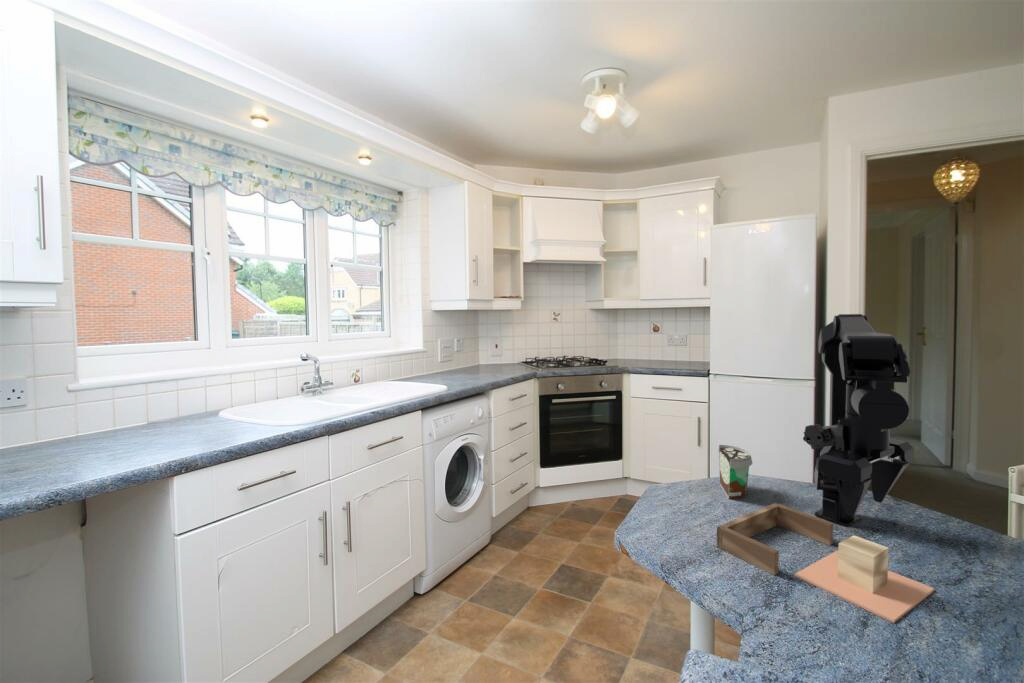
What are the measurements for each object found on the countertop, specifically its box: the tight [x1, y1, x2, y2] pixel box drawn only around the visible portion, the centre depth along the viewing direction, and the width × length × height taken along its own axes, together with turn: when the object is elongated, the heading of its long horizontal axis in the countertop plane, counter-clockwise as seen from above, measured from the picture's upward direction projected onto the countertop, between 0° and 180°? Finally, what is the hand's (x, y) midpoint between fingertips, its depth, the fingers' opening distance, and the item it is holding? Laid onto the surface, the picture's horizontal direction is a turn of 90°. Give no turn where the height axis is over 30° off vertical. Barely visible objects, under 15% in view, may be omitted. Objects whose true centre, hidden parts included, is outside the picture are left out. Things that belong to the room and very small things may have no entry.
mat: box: [794, 549, 935, 624], centre depth 78 cm, size 14×14×1 cm
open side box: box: [716, 502, 835, 576], centre depth 90 cm, size 19×11×4 cm, turn 120°
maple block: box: [837, 535, 889, 594], centre depth 78 cm, size 5×5×6 cm
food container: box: [718, 444, 753, 500], centre depth 115 cm, size 12×6×10 cm, turn 168°
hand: (864, 508), depth 77 cm, fingers open, 9 cm apart
